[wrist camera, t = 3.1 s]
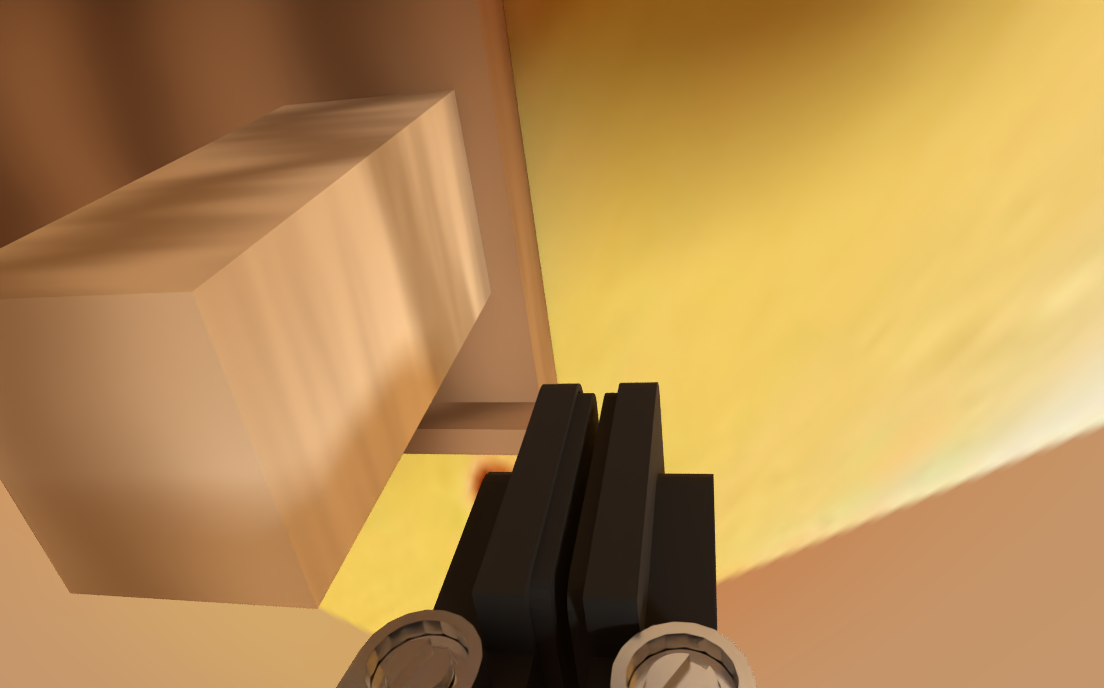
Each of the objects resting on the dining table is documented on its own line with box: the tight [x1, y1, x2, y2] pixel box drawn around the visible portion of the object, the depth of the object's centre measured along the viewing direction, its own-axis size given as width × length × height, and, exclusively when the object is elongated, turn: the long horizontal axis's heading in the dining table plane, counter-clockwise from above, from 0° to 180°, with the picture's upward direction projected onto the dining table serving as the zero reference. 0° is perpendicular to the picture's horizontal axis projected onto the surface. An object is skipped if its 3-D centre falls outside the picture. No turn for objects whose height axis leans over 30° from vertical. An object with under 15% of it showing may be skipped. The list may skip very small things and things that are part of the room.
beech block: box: [0, 90, 491, 609], centre depth 17 cm, size 5×6×12 cm
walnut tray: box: [0, 0, 557, 455], centre depth 24 cm, size 20×16×4 cm
